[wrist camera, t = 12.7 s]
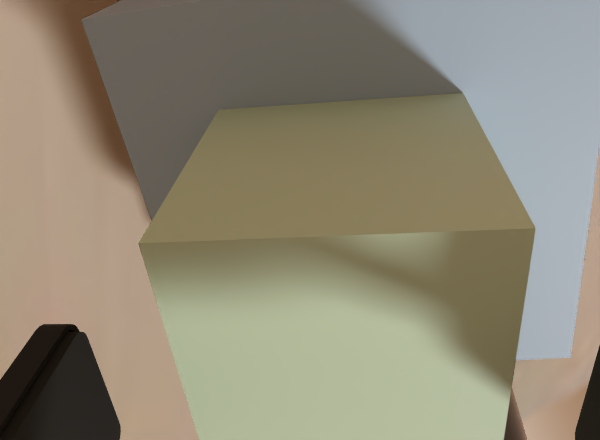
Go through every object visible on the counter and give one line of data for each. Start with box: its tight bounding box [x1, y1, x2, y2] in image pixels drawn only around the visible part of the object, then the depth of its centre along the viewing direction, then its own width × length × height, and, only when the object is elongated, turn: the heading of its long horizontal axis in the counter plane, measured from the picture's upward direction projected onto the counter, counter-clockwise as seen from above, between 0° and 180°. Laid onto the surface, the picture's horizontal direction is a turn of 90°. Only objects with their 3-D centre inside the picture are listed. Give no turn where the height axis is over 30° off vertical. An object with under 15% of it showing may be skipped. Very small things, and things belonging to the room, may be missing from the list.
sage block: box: [138, 93, 536, 440], centre depth 12 cm, size 6×6×6 cm
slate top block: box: [81, 0, 600, 360], centre depth 16 cm, size 12×12×4 cm
